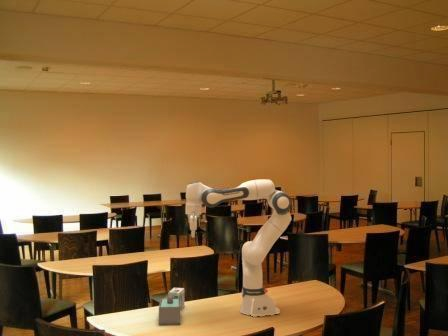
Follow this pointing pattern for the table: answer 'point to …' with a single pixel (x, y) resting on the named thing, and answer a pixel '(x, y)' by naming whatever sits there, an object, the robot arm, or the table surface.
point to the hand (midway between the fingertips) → (192, 235)
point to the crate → (169, 314)
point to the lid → (170, 302)
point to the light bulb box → (178, 295)
